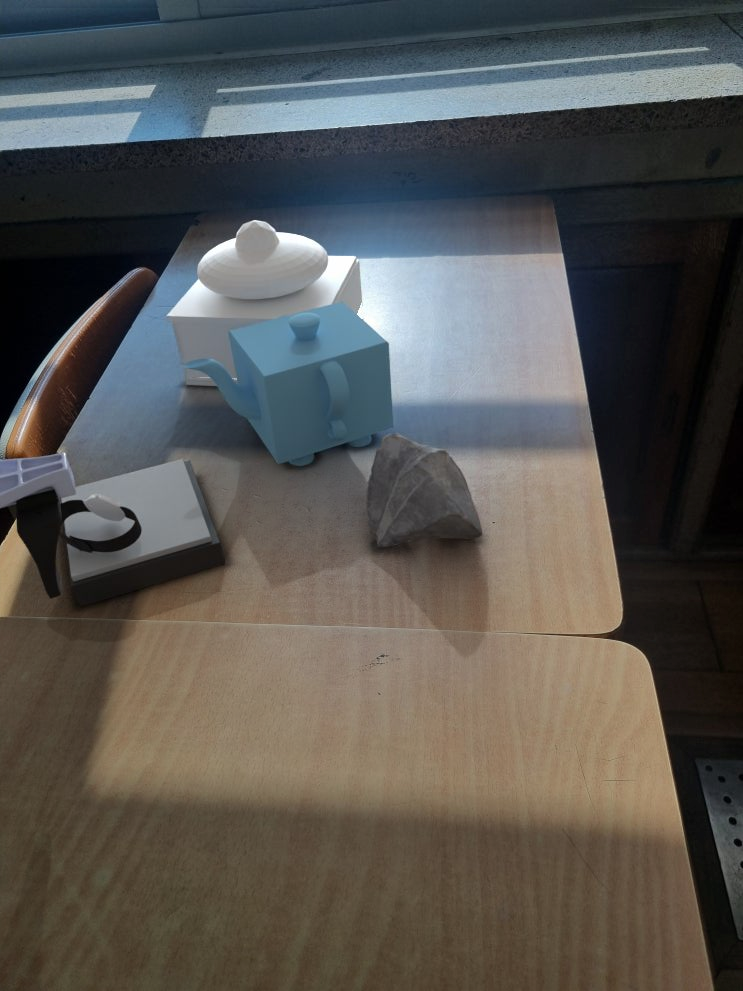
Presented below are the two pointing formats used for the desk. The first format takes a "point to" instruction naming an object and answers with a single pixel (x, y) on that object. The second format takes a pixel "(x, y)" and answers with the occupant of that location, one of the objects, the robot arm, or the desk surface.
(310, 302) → the butter dish
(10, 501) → the robot arm
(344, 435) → the teapot
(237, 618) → the desk surface
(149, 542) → the scale
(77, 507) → the watch
